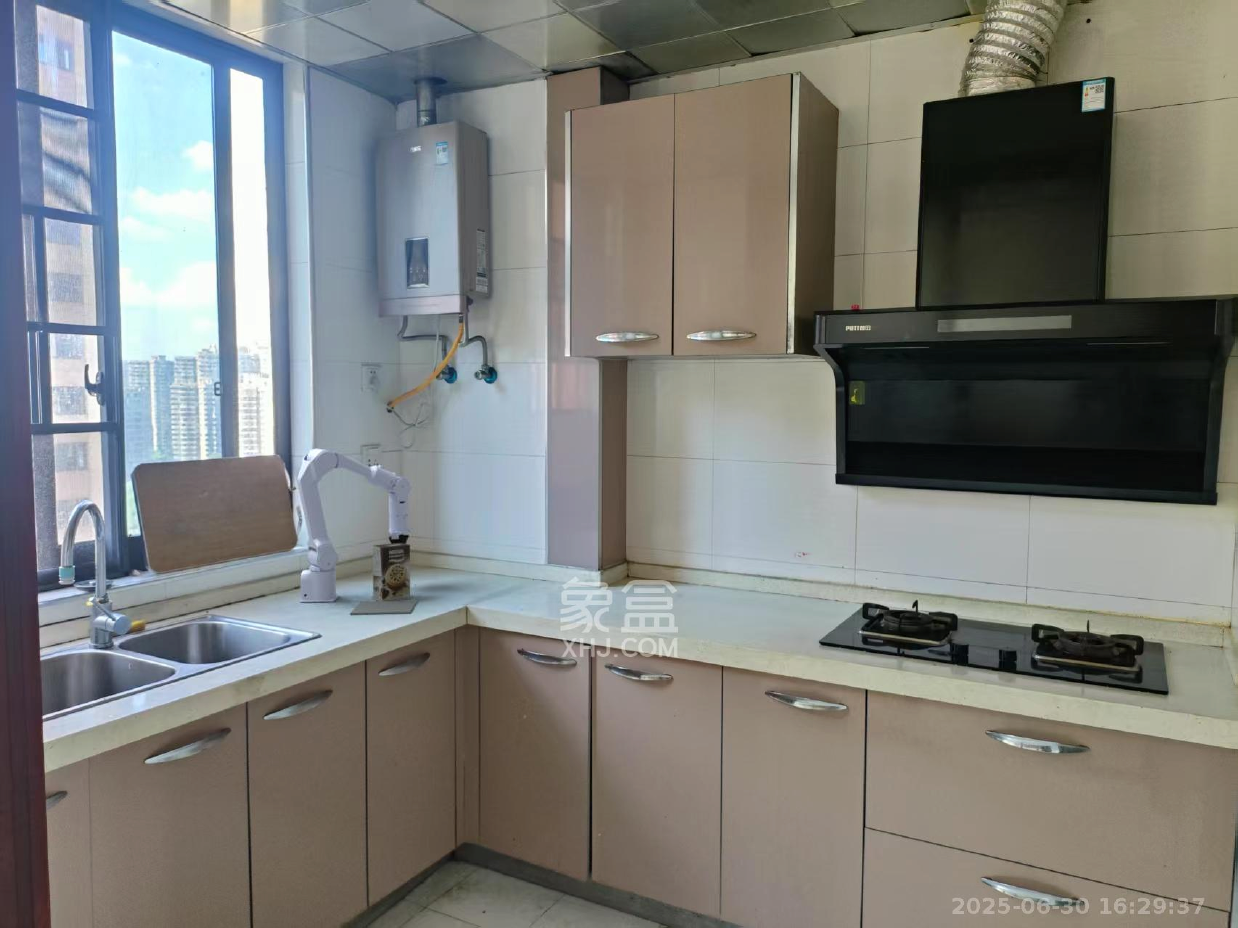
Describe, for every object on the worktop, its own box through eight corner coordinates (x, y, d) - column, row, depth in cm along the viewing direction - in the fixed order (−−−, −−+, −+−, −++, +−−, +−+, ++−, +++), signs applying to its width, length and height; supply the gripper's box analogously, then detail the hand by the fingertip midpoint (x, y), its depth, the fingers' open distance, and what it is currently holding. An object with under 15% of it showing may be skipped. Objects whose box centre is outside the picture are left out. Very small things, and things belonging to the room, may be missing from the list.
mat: (350, 614, 232) (350, 613, 232) (360, 603, 246) (360, 601, 246) (410, 613, 233) (410, 611, 233) (417, 602, 247) (417, 600, 247)
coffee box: (382, 603, 246) (381, 547, 245) (372, 599, 251) (371, 544, 250) (411, 598, 252) (410, 544, 251) (401, 594, 257) (400, 541, 256)
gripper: (408, 518, 257) (408, 562, 258) (415, 512, 271) (415, 554, 272) (384, 518, 256) (385, 563, 257) (392, 512, 271) (393, 554, 272)
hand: (399, 558), depth 265 cm, fingers closed
